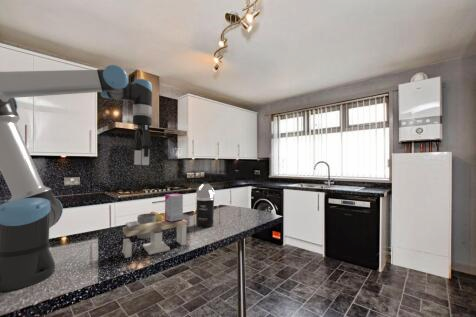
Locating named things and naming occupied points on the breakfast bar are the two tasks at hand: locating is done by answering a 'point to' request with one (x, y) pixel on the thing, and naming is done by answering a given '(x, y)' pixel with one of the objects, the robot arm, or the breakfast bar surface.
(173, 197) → the supplement box
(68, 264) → the breakfast bar surface
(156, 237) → the beam stand
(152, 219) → the cup
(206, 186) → the spray bottle
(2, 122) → the robot arm
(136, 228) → the beam
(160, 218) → the bread roll
